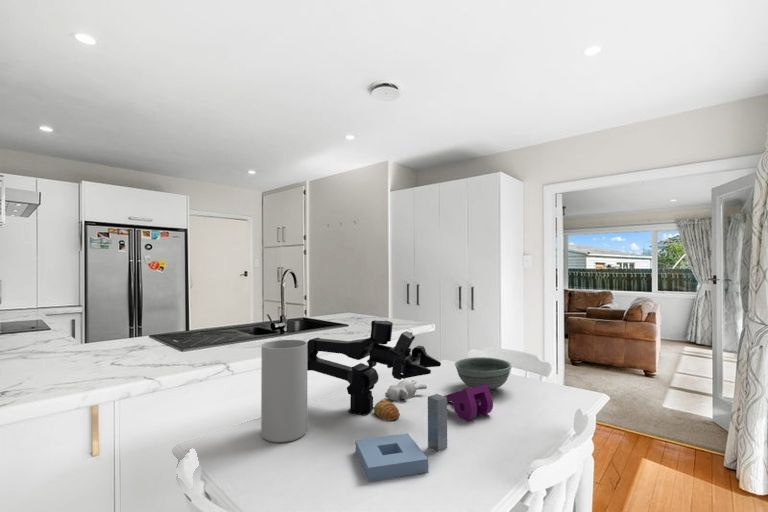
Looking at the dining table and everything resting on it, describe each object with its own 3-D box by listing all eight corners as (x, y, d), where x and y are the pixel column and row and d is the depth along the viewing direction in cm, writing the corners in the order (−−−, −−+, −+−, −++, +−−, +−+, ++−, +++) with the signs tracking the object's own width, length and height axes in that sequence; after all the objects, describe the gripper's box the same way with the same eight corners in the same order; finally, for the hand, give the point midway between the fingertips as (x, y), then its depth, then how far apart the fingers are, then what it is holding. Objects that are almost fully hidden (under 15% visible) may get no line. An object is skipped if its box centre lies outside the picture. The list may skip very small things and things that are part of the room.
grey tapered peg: (427, 447, 101) (427, 396, 101) (437, 443, 103) (436, 393, 103) (438, 452, 98) (437, 400, 98) (447, 448, 100) (446, 397, 101)
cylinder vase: (292, 420, 118) (292, 338, 119) (316, 433, 109) (316, 343, 110) (253, 433, 109) (253, 344, 110) (275, 448, 100) (275, 351, 101)
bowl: (519, 398, 137) (519, 370, 137) (460, 398, 137) (459, 370, 137) (502, 381, 157) (502, 356, 158) (450, 381, 158) (450, 356, 158)
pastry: (405, 419, 120) (405, 406, 120) (386, 423, 116) (386, 411, 116) (389, 409, 128) (389, 397, 128) (371, 413, 124) (371, 401, 124)
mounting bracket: (438, 426, 128) (474, 418, 115) (431, 399, 131) (465, 389, 118) (459, 419, 133) (496, 411, 120) (451, 394, 137) (487, 383, 123)
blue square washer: (355, 451, 98) (355, 439, 98) (407, 444, 102) (407, 433, 102) (368, 481, 85) (368, 467, 85) (428, 472, 89) (428, 458, 89)
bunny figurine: (379, 386, 139) (411, 374, 148) (381, 400, 139) (412, 387, 148) (396, 393, 131) (428, 380, 140) (397, 408, 131) (430, 394, 140)
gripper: (377, 335, 113) (428, 347, 106) (403, 326, 130) (448, 335, 123) (373, 373, 114) (423, 387, 107) (399, 359, 130) (444, 370, 124)
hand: (435, 368), depth 115 cm, fingers open, 9 cm apart
